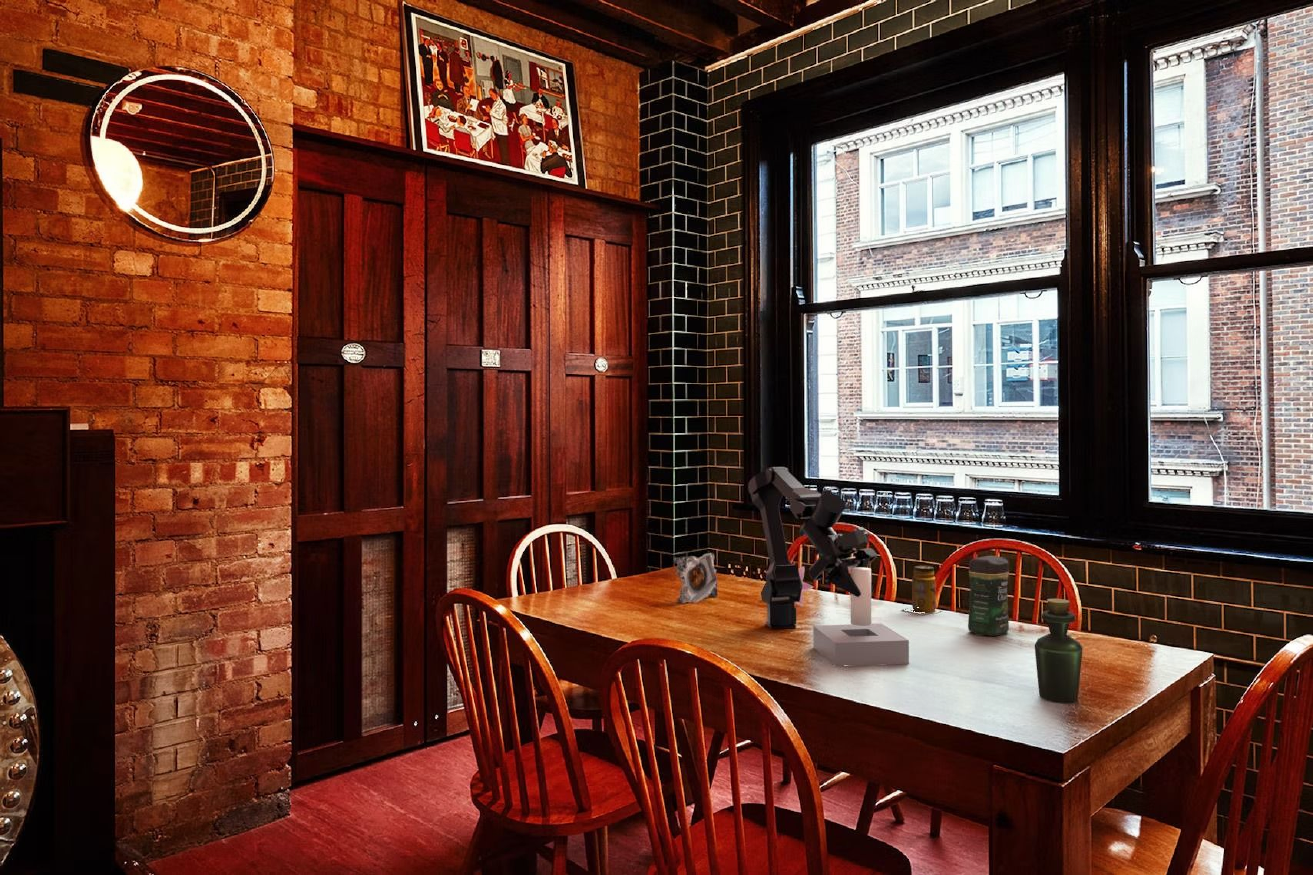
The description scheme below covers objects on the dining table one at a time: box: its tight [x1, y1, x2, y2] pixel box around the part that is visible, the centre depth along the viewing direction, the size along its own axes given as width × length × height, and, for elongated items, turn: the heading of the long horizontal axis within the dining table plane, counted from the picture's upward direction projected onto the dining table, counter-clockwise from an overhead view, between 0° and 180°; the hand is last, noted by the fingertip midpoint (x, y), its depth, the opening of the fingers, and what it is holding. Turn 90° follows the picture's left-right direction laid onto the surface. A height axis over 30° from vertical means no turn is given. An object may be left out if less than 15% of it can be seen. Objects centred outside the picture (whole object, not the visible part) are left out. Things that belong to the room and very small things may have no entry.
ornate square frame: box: [673, 552, 718, 604], centre depth 256 cm, size 15×4×13 cm, turn 138°
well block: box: [812, 622, 910, 667], centre depth 193 cm, size 16×16×5 cm
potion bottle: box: [1034, 598, 1084, 704], centre depth 162 cm, size 8×8×18 cm
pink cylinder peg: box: [850, 567, 872, 626], centre depth 193 cm, size 4×4×12 cm
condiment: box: [902, 565, 941, 616], centre depth 238 cm, size 7×8×12 cm
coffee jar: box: [967, 555, 1010, 637], centre depth 213 cm, size 10×8×19 cm
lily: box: [794, 566, 814, 607], centre depth 252 cm, size 12×12×10 cm
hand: (865, 594), depth 192 cm, fingers closed on pink cylinder peg, 4 cm apart
